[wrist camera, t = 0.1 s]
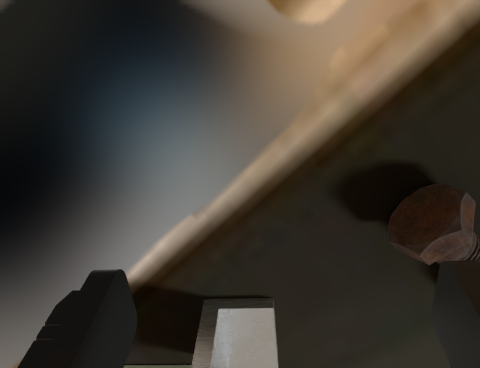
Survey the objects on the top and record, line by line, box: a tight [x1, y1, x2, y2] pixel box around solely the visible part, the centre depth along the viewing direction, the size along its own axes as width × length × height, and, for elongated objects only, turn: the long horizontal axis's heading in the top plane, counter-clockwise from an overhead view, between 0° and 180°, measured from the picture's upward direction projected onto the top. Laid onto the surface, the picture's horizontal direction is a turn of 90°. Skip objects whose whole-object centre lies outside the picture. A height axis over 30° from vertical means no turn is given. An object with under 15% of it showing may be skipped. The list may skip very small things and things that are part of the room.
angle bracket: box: [191, 298, 278, 368], centre depth 34 cm, size 8×6×8 cm
